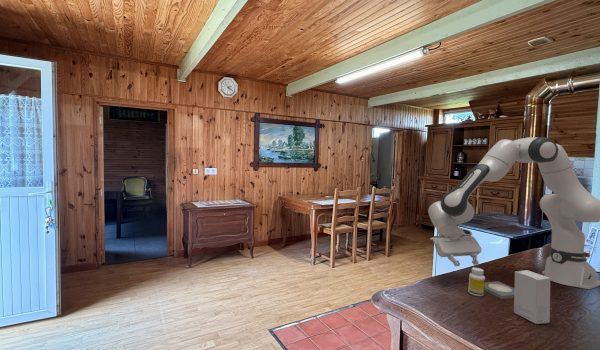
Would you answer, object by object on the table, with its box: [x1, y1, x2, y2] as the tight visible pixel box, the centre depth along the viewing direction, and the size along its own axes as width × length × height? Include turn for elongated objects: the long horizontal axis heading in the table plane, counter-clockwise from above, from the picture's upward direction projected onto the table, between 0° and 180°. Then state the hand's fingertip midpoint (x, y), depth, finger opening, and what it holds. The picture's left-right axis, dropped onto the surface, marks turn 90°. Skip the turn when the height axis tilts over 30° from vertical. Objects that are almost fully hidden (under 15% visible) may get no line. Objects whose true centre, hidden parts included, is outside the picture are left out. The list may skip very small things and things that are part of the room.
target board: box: [484, 280, 515, 300], centre depth 122 cm, size 12×12×1 cm
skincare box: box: [513, 269, 551, 325], centre depth 101 cm, size 8×6×15 cm
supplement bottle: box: [467, 267, 486, 297], centre depth 118 cm, size 5×5×10 cm
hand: (467, 264), depth 123 cm, fingers open, 8 cm apart
